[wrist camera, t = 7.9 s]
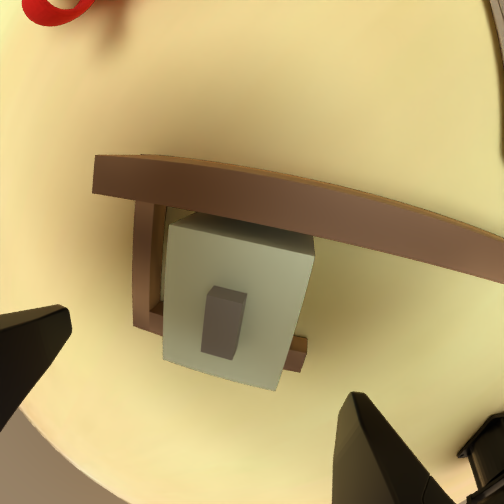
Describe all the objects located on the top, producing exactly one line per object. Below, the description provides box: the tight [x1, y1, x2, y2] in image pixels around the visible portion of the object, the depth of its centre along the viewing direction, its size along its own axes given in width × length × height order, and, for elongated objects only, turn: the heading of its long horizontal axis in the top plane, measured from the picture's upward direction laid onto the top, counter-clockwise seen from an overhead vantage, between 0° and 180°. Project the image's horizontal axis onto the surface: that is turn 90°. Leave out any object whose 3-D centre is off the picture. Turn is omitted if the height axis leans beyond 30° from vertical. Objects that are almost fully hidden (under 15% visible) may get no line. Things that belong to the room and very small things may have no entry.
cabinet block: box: [163, 212, 315, 391], centre depth 13 cm, size 6×5×7 cm
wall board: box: [92, 154, 504, 372], centre depth 12 cm, size 10×23×6 cm, turn 80°
